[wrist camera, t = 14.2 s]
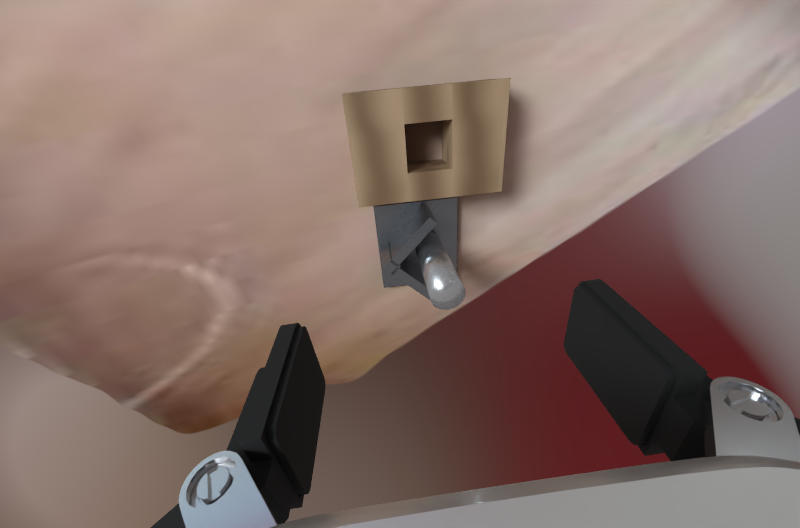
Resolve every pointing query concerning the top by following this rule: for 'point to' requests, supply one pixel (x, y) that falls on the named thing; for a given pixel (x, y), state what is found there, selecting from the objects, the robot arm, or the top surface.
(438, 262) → the axle
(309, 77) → the top surface
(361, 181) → the wooden block with hole
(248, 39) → the top surface
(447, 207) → the v block
